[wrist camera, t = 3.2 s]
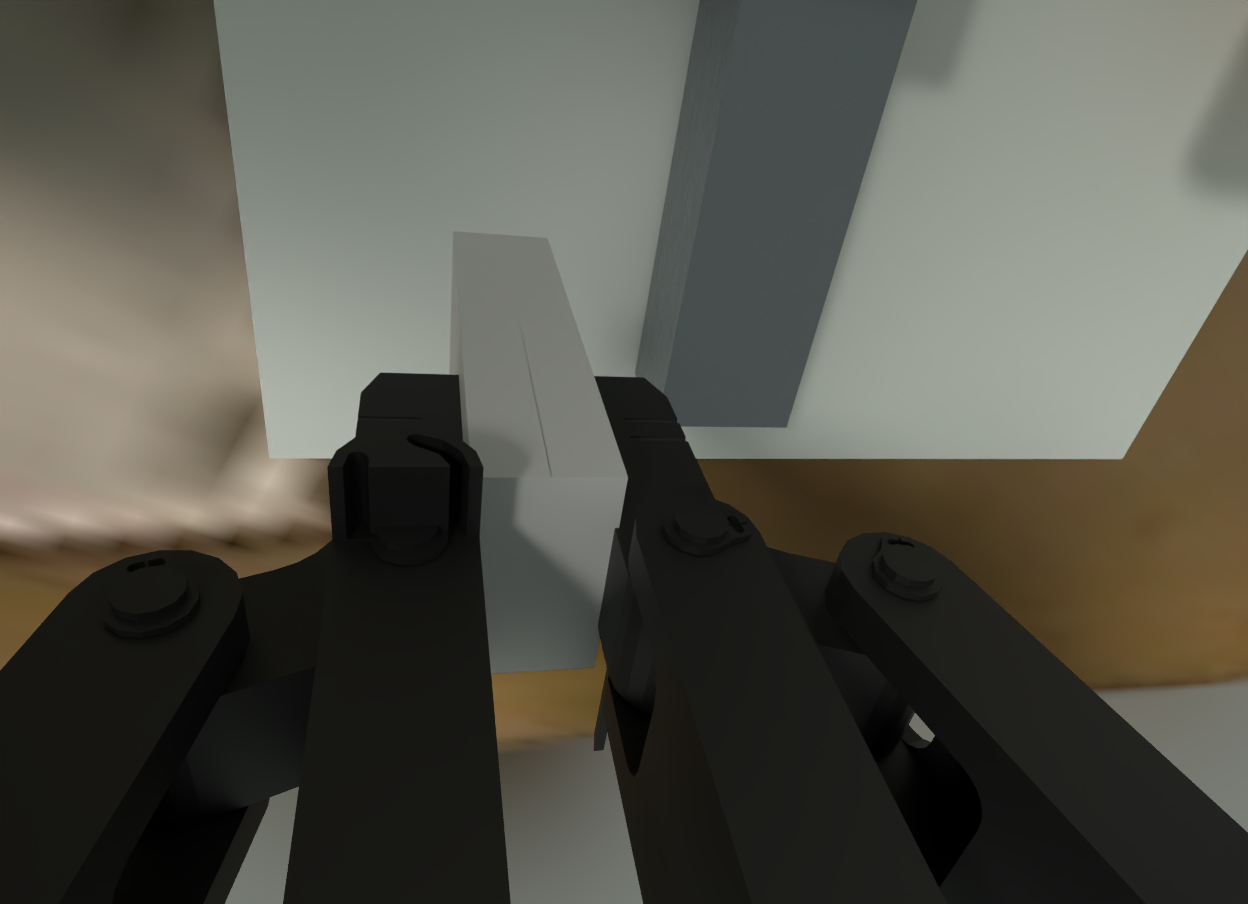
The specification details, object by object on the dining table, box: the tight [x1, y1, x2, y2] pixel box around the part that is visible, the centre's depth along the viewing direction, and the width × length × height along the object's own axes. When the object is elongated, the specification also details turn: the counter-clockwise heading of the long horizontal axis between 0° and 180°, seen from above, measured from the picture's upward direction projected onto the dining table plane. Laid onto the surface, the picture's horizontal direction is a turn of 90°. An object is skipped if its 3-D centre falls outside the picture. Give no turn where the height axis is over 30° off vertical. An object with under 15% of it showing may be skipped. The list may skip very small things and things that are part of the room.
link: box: [635, 0, 917, 428], centre depth 19 cm, size 18×6×4 cm, turn 171°
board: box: [213, 0, 1248, 459], centre depth 23 cm, size 24×32×1 cm
